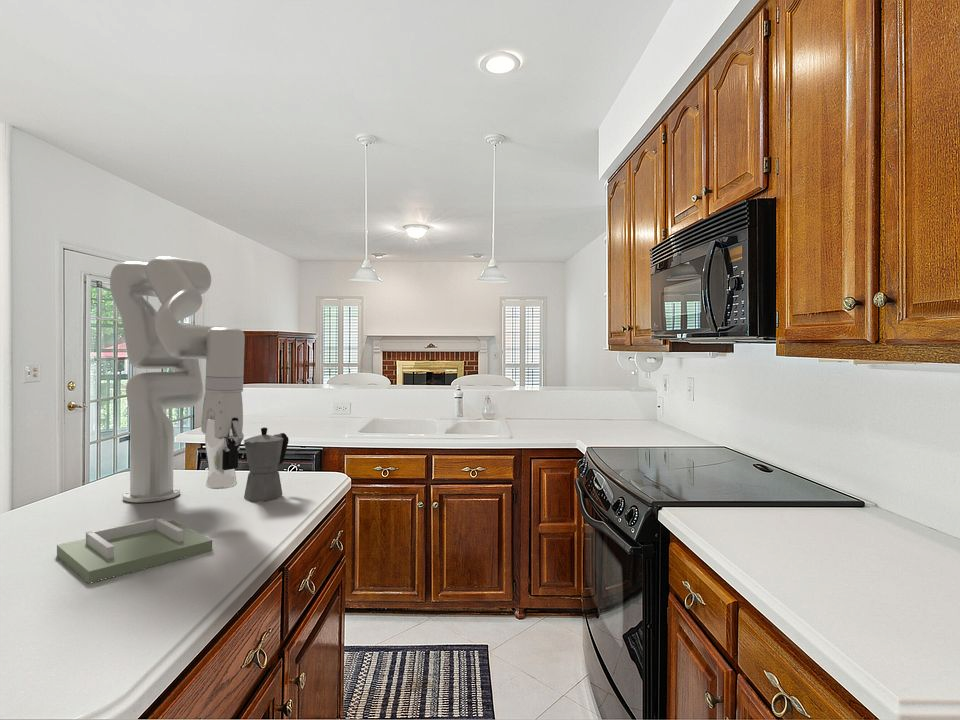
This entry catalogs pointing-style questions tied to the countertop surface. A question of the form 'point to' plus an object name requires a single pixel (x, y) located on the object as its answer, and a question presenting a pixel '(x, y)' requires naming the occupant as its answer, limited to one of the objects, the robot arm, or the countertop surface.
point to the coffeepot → (264, 465)
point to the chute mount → (131, 548)
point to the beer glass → (217, 460)
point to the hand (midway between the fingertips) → (222, 465)
